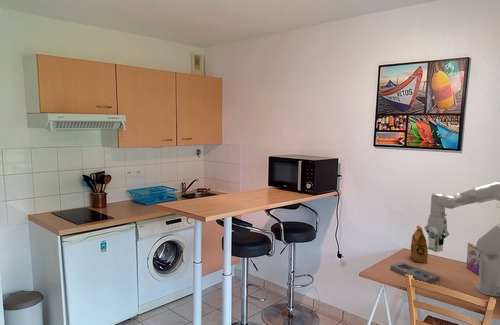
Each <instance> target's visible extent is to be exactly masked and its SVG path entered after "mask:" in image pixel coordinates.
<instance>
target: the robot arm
mask: <svg viewBox="0 0 500 325" xmlns="http://www.w3.org/2000/svg"><path fill="white" fill-rule="evenodd" d="M430 197H431V198H430V212H429V213H430V214H429V216H428V219H427V225H426V226H424V227H423V228H424V230H425V232H426V233H427V235H428V236H429V228H430V227H434V228H438V233H439V236H440V239H439V245H443V246H444V241H445V238H447V237H448V236H450V233H449V231H448V222H447V213H446V209H450V210H453V209H456V208H458V207H459V208H460V207H463V206H466V205H469V204H470V205H471V204H475V203H478V204H481V203H485V202H490V201H495V200H497V201H499V202H500V181H496V182H492V183H488V184H484V185H481V186H477V187H474V188H473V187H472V189H469V190H465V191H461V192H458V193H452V194H450V195H449V194H448V195H446V194H445V193H443V192H442V193H441V192H434V193H432V194H431V196H430ZM427 239H428V241H429V237H427ZM476 246H477V249H478V251H479V252H480V253H482V255H481V266H480V275H479V280H478V282H479V283H478V284H476V285H475V290H476V291H478V292H479V293H481V294H484V295H487V296H491V297H500V223H498V224H497V225H495V226H493V227H492V228H491V229H490V230H489V231H487V232H486V233H485V234H484V235H482V236H481V237H479V238H478V240H477V241H476Z"/></svg>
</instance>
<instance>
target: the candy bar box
mask: <svg viewBox="0 0 500 325" xmlns="http://www.w3.org/2000/svg"><path fill="white" fill-rule="evenodd" d="M476 244H477V242H467V251H466V252H467V254H466V268H467V269H468V270H469V271H471V272H473V273H474V274H476V275H477V276H480V266H481V255H482V253H480V252H479V251H478V249H477V246H476Z"/></svg>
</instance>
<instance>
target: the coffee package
mask: <svg viewBox="0 0 500 325" xmlns="http://www.w3.org/2000/svg"><path fill="white" fill-rule="evenodd" d="M416 228H417V229H416V230H415V231H414V233H413V234H412V235H411V236H412V237H411V244H410V255H411V258H412V260H413V261H414V263H417V262H418V263H422V264H427V262H428V255H429V253H428V252H429V249H428V243H427V239H426V235H425V234H424V232H423V227H421V226H420V225H416Z"/></svg>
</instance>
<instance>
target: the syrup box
mask: <svg viewBox="0 0 500 325" xmlns="http://www.w3.org/2000/svg"><path fill="white" fill-rule="evenodd" d="M428 238H429V240H428V243H427V247H428V251H432V252H434V253H440V252H443V248H444V244H443V245H439V239H440V236H439V233H438V228H434V227H430V228H429V235H428Z"/></svg>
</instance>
